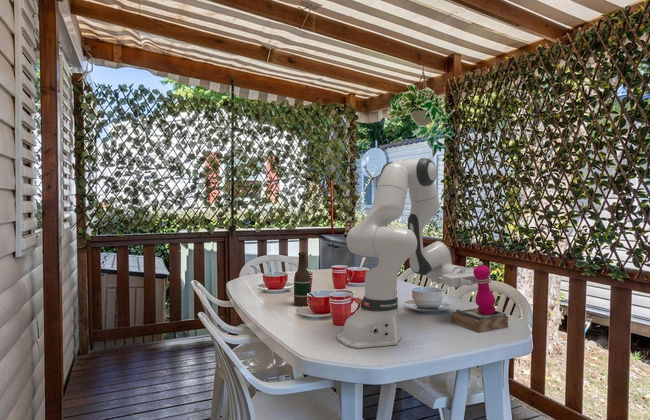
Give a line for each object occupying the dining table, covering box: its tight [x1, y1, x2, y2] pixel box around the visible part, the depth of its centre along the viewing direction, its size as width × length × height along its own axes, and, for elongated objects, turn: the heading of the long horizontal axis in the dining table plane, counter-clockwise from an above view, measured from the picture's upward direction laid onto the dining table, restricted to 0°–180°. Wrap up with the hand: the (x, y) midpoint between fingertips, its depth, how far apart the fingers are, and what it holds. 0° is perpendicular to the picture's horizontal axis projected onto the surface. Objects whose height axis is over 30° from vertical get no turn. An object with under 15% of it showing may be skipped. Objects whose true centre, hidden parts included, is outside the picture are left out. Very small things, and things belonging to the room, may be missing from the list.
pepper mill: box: [473, 261, 496, 315], centre depth 168 cm, size 7×7×20 cm
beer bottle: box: [293, 251, 312, 308], centre depth 200 cm, size 8×8×24 cm
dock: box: [450, 307, 509, 333], centre depth 169 cm, size 15×14×5 cm
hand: (480, 282), depth 168 cm, fingers open, 8 cm apart
